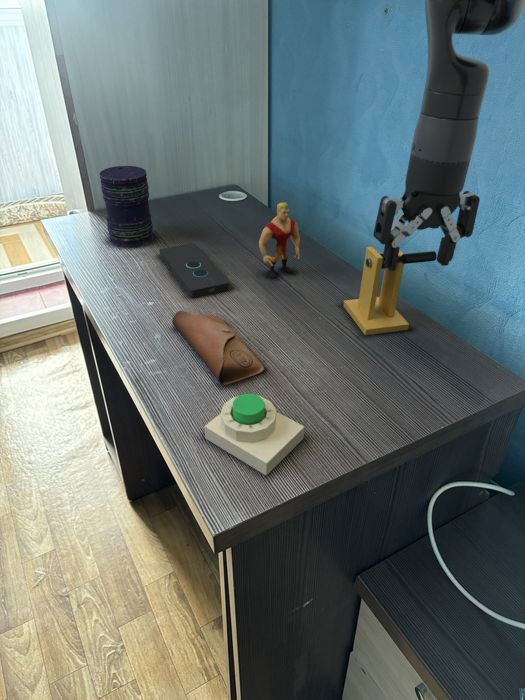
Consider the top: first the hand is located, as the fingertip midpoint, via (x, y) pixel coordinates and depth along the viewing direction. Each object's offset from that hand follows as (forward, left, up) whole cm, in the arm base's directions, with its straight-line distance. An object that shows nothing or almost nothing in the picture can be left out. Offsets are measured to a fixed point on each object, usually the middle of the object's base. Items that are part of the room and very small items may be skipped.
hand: (416, 265), depth 76 cm
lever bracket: (+8, -6, -15) cm, 18 cm away
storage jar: (+67, -1, -15) cm, 68 cm away
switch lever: (+4, -3, -2) cm, 5 cm away
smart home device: (+45, +2, -15) cm, 47 cm away
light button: (+7, +31, -11) cm, 34 cm away
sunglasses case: (+23, +19, -15) cm, 33 cm away
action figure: (+31, -9, -15) cm, 35 cm away
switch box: (+6, +31, -15) cm, 35 cm away
